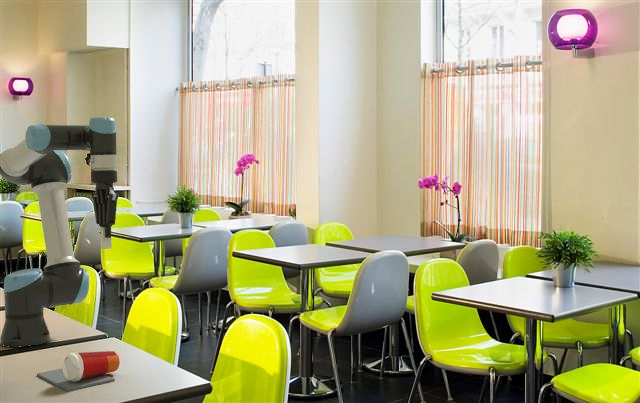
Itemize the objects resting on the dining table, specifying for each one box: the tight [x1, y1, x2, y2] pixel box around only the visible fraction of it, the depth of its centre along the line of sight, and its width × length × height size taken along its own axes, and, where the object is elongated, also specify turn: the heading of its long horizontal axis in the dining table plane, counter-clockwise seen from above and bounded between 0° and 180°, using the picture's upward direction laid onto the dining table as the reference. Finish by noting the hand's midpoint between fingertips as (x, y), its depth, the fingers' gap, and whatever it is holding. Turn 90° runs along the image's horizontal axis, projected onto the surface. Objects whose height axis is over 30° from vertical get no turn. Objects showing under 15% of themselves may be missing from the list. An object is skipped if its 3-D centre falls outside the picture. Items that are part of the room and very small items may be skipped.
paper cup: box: [61, 350, 121, 382], centre depth 207 cm, size 8×8×14 cm
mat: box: [36, 368, 116, 392], centre depth 209 cm, size 20×13×1 cm, turn 42°
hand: (106, 248), depth 231 cm, fingers closed
